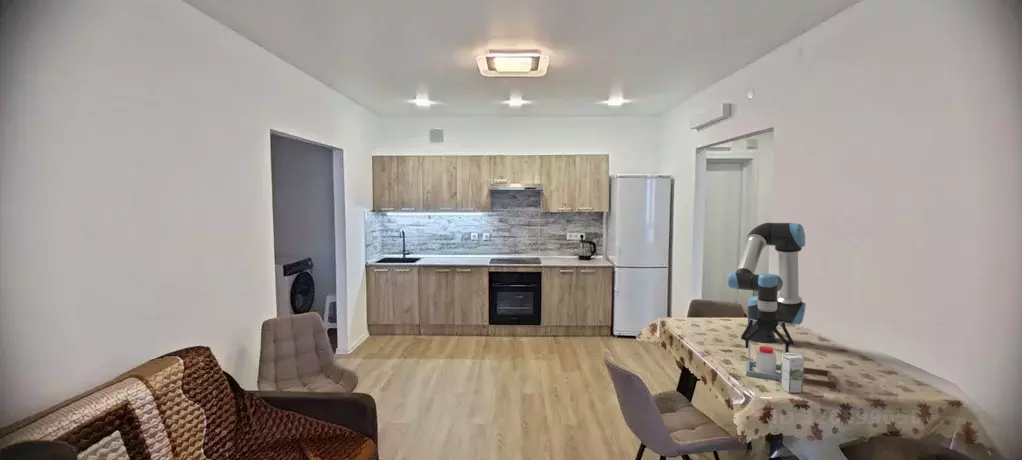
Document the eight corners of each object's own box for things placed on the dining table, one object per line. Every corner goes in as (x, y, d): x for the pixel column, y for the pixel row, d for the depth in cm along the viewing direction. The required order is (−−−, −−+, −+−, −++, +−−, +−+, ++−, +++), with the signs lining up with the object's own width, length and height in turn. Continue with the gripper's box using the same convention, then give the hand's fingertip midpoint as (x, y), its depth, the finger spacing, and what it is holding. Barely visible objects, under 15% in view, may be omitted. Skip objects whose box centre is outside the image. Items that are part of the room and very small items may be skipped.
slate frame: (746, 364, 222) (746, 360, 221) (784, 369, 215) (784, 364, 215) (746, 375, 208) (746, 371, 208) (787, 381, 201) (787, 376, 201)
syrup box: (793, 387, 194) (794, 352, 194) (803, 393, 189) (804, 357, 188) (780, 387, 194) (780, 352, 193) (788, 393, 188) (789, 357, 187)
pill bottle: (765, 376, 207) (765, 351, 206) (751, 370, 214) (752, 346, 213) (780, 374, 209) (780, 349, 208) (766, 368, 216) (766, 344, 215)
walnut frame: (788, 369, 214) (789, 365, 214) (830, 375, 207) (830, 370, 207) (791, 381, 200) (791, 377, 200) (835, 387, 193) (836, 383, 193)
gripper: (735, 309, 212) (734, 356, 213) (801, 314, 201) (800, 364, 202) (735, 305, 218) (735, 351, 220) (799, 310, 207) (798, 358, 209)
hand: (766, 357), depth 211 cm, fingers open, 13 cm apart
